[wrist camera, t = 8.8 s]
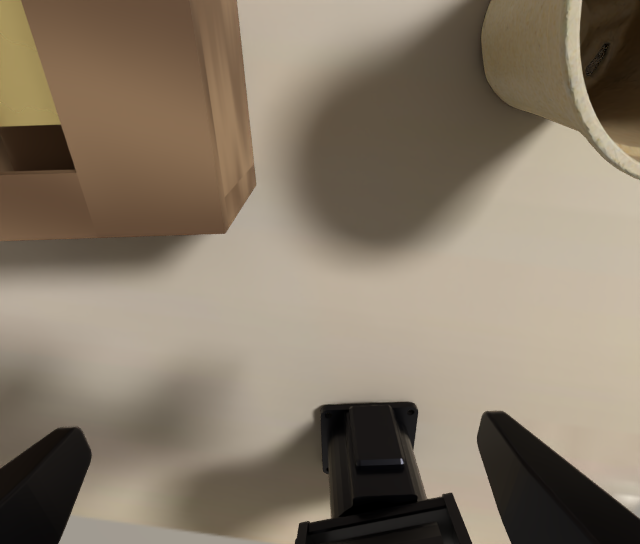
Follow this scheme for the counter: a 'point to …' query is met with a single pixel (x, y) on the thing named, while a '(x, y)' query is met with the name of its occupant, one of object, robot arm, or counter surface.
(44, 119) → the block
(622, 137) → the flower pot
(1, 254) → the counter surface
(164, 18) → the coin box
